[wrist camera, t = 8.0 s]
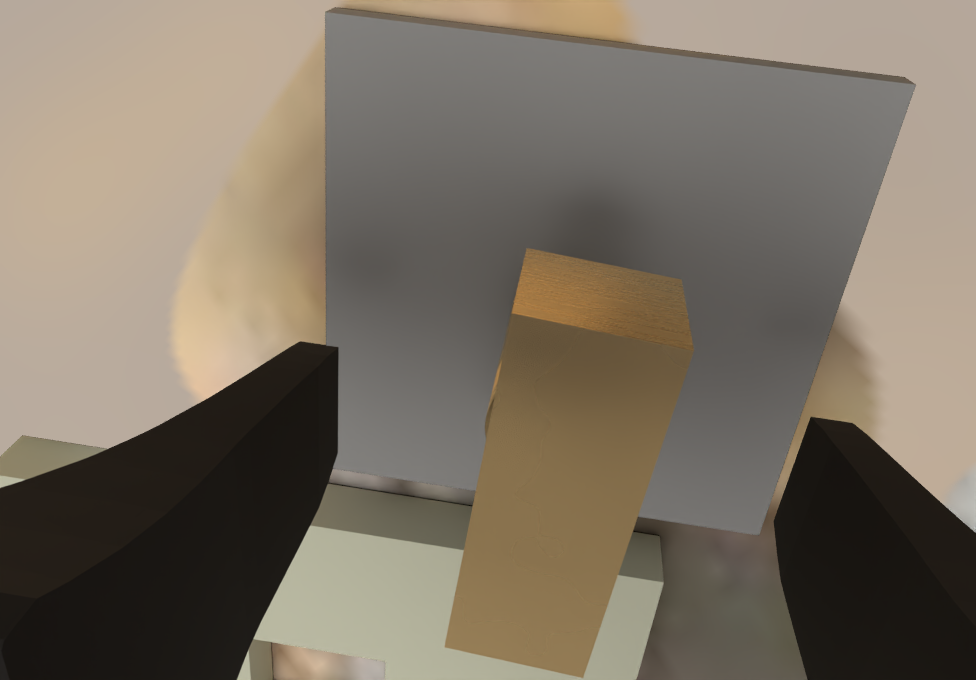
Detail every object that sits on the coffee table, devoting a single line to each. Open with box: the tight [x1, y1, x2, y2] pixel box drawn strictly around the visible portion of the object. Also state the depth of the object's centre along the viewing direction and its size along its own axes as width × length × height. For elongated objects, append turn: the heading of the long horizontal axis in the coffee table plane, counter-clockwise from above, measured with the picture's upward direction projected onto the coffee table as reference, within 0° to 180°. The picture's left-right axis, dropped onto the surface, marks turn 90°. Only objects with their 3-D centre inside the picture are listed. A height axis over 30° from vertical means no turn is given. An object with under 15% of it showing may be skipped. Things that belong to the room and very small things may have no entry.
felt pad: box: [325, 7, 916, 535], centre depth 17 cm, size 10×10×1 cm
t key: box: [444, 248, 694, 678], centre depth 14 cm, size 6×2×6 cm, turn 171°
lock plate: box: [0, 436, 664, 680], centre depth 22 cm, size 16×12×2 cm
